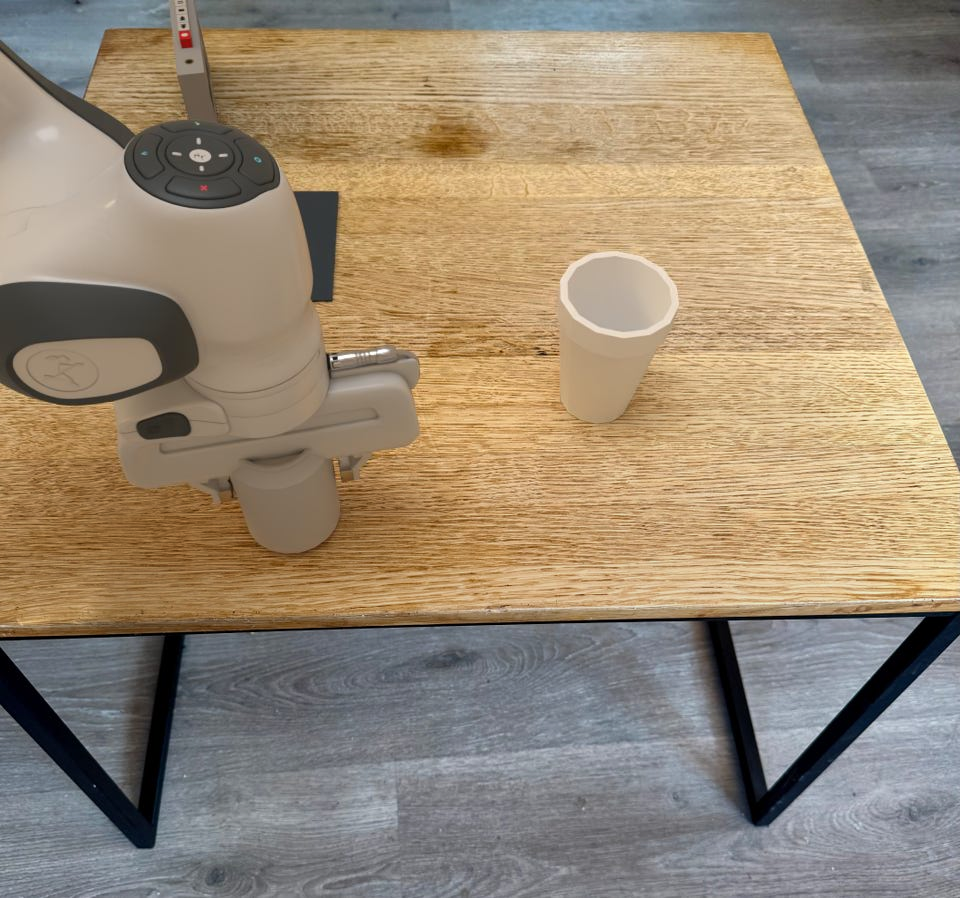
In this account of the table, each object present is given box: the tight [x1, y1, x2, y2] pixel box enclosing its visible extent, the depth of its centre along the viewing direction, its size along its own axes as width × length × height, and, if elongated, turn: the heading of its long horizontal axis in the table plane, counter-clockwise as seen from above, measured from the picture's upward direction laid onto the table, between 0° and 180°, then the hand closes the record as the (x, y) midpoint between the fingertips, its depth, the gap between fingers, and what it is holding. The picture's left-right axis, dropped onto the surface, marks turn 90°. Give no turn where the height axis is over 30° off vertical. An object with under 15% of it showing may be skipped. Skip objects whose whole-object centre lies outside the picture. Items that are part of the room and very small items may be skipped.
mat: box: [292, 190, 340, 303], centre depth 88 cm, size 16×16×1 cm
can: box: [230, 448, 341, 555], centre depth 66 cm, size 8×8×12 cm
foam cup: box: [556, 250, 680, 425], centre depth 74 cm, size 10×9×13 cm
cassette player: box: [167, 0, 219, 123], centre depth 97 cm, size 16×3×10 cm, turn 15°
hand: (288, 484), depth 67 cm, fingers open, 8 cm apart
